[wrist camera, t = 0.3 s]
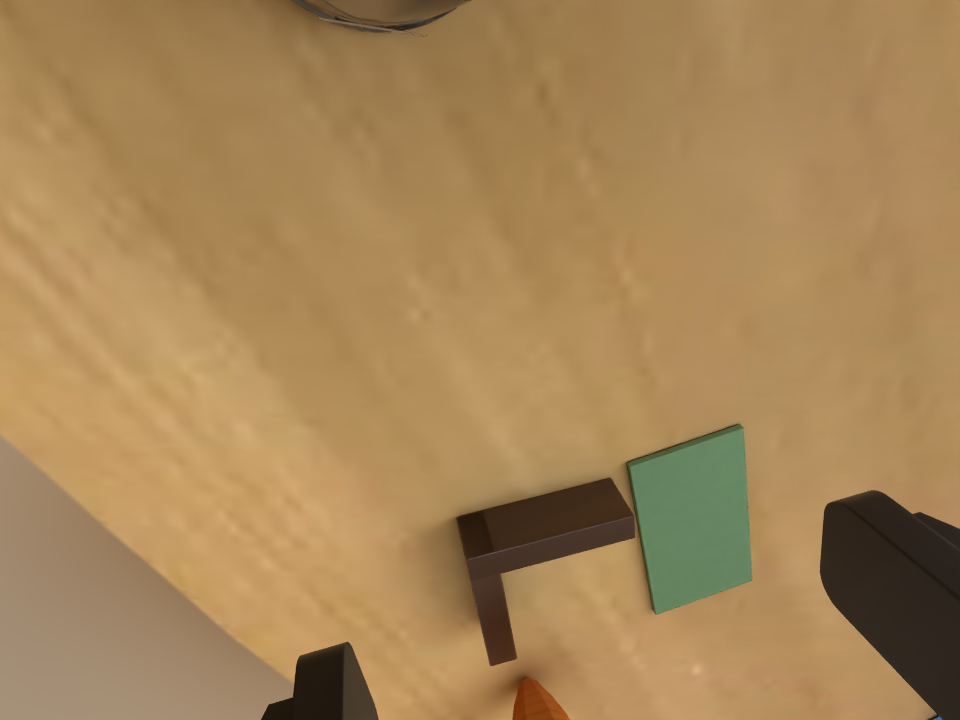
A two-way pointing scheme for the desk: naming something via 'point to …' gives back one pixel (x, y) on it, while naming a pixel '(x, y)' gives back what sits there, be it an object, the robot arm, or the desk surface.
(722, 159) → the desk surface
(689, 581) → the rag
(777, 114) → the desk surface
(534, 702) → the carrot
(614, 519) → the corner stop
